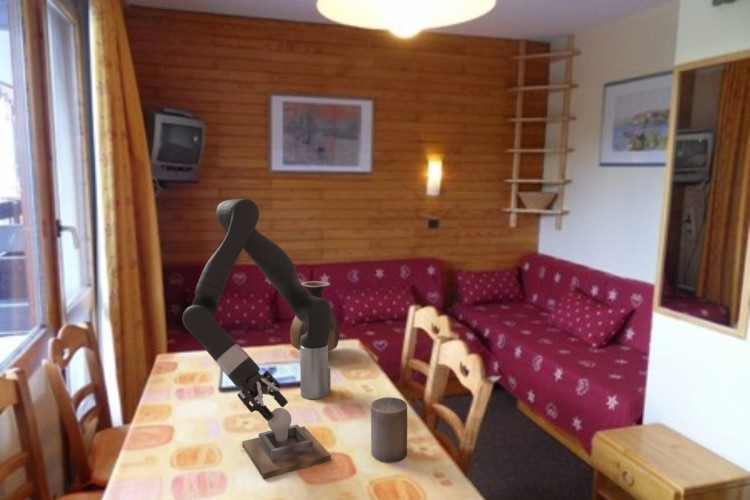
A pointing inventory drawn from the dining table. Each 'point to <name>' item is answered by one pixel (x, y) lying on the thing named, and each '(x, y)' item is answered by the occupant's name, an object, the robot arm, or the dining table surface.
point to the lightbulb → (280, 425)
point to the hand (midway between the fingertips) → (278, 411)
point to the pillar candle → (389, 429)
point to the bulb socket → (285, 452)
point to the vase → (302, 328)
